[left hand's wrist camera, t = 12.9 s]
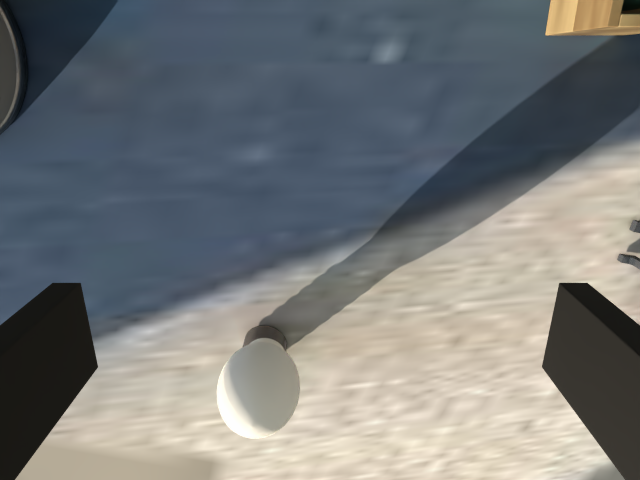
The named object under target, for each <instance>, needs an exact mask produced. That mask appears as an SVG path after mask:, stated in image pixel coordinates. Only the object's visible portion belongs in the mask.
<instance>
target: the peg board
mask: <svg viewBox="0 0 640 480" xmlns="http://www.w3.org/2000/svg"><path fill="white" fill-rule="evenodd" d="M623 1H624V0H551V3H550V10H549V16H548V22H547V28H546V35H631V34H640V8H639V9H634V10H628V11H622V6H623Z"/></svg>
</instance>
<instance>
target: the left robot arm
mask: <svg viewBox="0 0 640 480" xmlns="http://www.w3.org/2000/svg"><path fill="white" fill-rule="evenodd" d="M27 76H28V68H27V58H26V52H25V47H24V43H23V39H22V36H21V33H20V30H19V27H18V25H17V23H16V21H15V18H14V16H13V14H12V12H11V11H10V9H9V7H8V5H7V4H6V2H5V1H4V0H0V135H1V134H2V133H3V132H4V131H5V130H6V129H7V128H8V127H9V126H10V125H11V123H12V122H13V121H14V119H15V118H16V116H17V114H18V112H19V110H20V108H21V106H22V103H23V100H24V97H25V93H26V87H27ZM97 368H98V365H97V360H96V355H95V350H94V345H93V341H92V336H91V331H90V326H89V321H88V316H87V312H86V307H85V302H84V297H83V292H82V287H81V283H52V284H51V285H50V286H48V287H47V288H46V289H45V290H43V291H42V292H41V293H40V294H38V295H37V296H36V297H35V298H34V299H32V300H31V301H30V302H29V303H27V304H26V305H25V306H24V307H22V308H21V309H20V310H19V311H17V312H16V313H15V314H14V315H13V316H11V317H10V318H9V319H8V320H6V321H5V322H4V323H3V324H1V325H0V480H15V479H16V477H17V476H18V475H19V473H20V472H21V471H22V469H23V468H24V467H25V465H26V464H27V463H28V461H29V460H30V458H31V457H32V456H33V454H34V453H35V452H36V450H37V449H38V448H39V446H40V445H41V444H42V442H43V441H44V439H45V438H46V437H47V435H48V434H49V433H50V431H51V430H52V429H53V427H54V426H55V425H56V423H57V422H58V421H59V419H60V418H61V416H62V415H63V414H64V412H65V411H66V410H67V408H68V407H69V406H70V404H71V403H72V402H73V400H74V399H75V397H76V396H77V395H78V393H79V392H80V391H81V389H82V388H83V387H84V385H85V384H86V383H87V381H88V380H89V379H90V377H91V376H92V374H93V373H94V372H95V370H96V369H97ZM542 368H543V369H544V370H545V372H546V373H547V374H548V376H549V377H550V379H551V380H552V381H553V383H554V384H555V385H556V387H557V388H558V389H559V391H560V392H561V393H562V395H563V396H564V397H565V399H566V400H567V402H568V403H569V404H570V406H571V407H572V408H573V410H574V411H575V412H576V414H577V415H578V416H579V418H580V419H581V421H582V422H583V423H584V425H585V426H586V427H587V429H588V430H589V431H590V433H591V434H592V435H593V437H594V438H595V439H596V441H597V442H598V444H599V445H600V446H601V448H602V449H603V450H604V452H605V453H606V454H607V456H608V457H609V458H610V460H611V461H612V463H613V464H614V465H615V467H616V468H617V469H618V471H619V472H620V473H621V475H622V476H623V477H624V479H625V480H640V325H639V324H637V323H636V322H635V321H634V320H632V319H631V318H630V317H629V316H627V315H626V314H625V313H624V312H623V311H621V310H620V309H619V308H618V307H616V306H615V305H614V304H613V303H611V302H610V301H609V300H608V299H606V298H605V297H604V296H603V295H602V294H600V293H599V292H598V291H597V290H595V289H594V288H593V287H592V286H590V285H589V284H588V283H559V287H558V292H557V297H556V302H555V307H554V312H553V316H552V321H551V326H550V331H549V336H548V341H547V345H546V350H545V355H544V360H543V365H542Z"/></svg>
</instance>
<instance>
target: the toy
mask: <svg viewBox="0 0 640 480" xmlns="http://www.w3.org/2000/svg"><path fill="white" fill-rule="evenodd" d="M630 230H631V231H633V232H638V233H640V221H637V220H633V222H632V224H631V227H630ZM617 260H618V261H620V262H622V263H627V264H631V265H634V266H635V267H637V268H638V269H640V258H638V257H636V256H632V255H625V254H619V257H618V259H617Z"/></svg>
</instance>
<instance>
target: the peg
mask: <svg viewBox="0 0 640 480" xmlns="http://www.w3.org/2000/svg"><path fill="white" fill-rule="evenodd" d="M639 8H640V0H624V1H623V6H622V11H628V10H634V9H639Z"/></svg>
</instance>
